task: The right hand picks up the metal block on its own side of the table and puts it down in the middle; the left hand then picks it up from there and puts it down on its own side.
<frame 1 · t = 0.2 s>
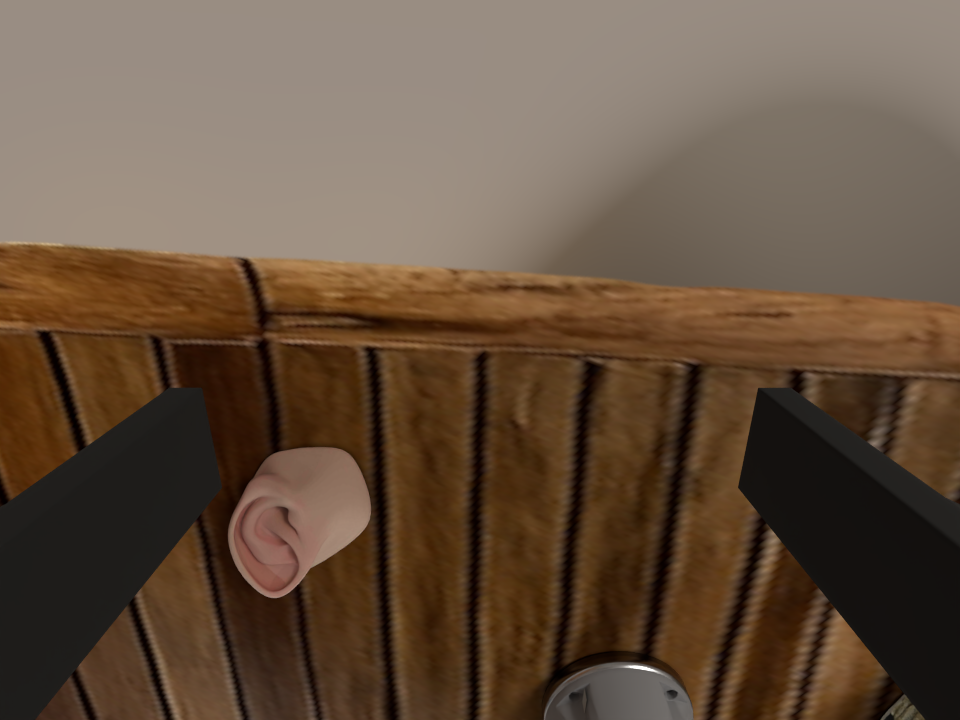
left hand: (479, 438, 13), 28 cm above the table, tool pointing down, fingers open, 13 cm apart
anatomical model: (305, 505, 46), on the table
fossil: (928, 701, 55), on the table
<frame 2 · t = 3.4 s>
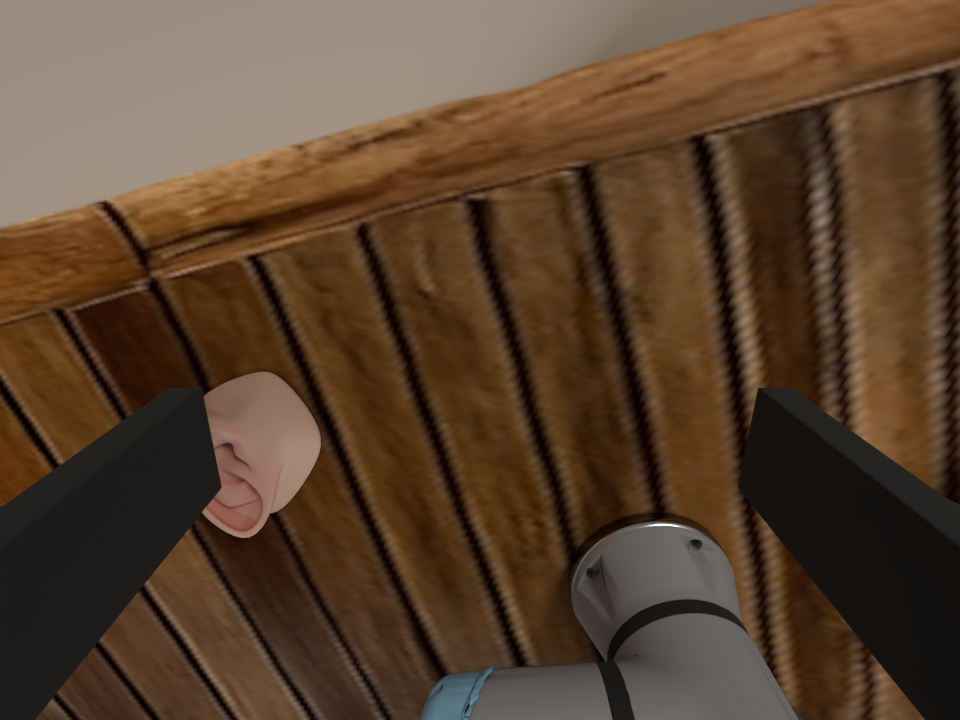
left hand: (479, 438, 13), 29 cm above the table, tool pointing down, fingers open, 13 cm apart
anatomical model: (256, 442, 46), on the table
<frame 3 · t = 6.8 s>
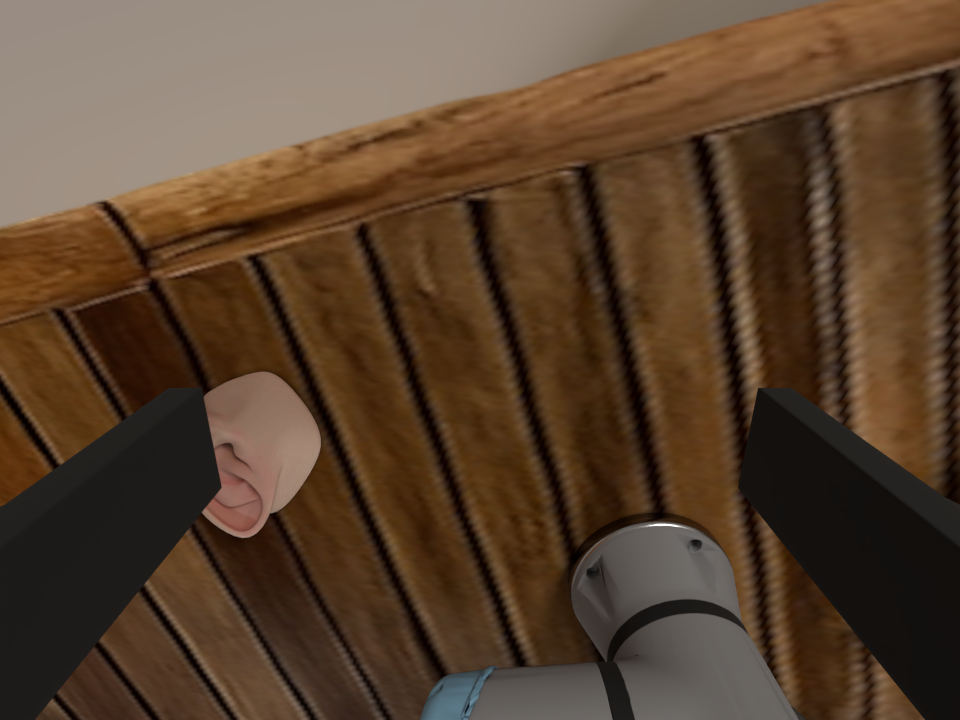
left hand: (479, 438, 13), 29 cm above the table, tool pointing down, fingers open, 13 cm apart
anatomical model: (256, 442, 46), on the table
when the right hand's fingers open (4 cm above the table, at t = 10.3 s): block drops 2 cm, on the table.
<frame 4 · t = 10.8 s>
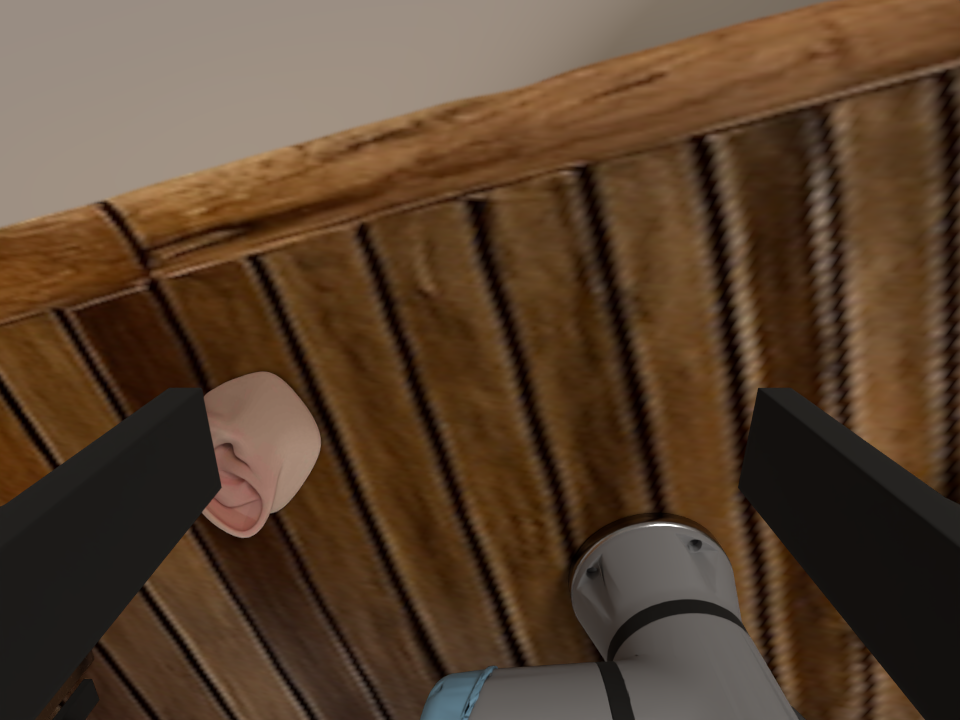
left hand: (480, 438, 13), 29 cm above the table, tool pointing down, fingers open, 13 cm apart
anatomical model: (256, 442, 46), on the table
block: (65, 640, 54), on the table
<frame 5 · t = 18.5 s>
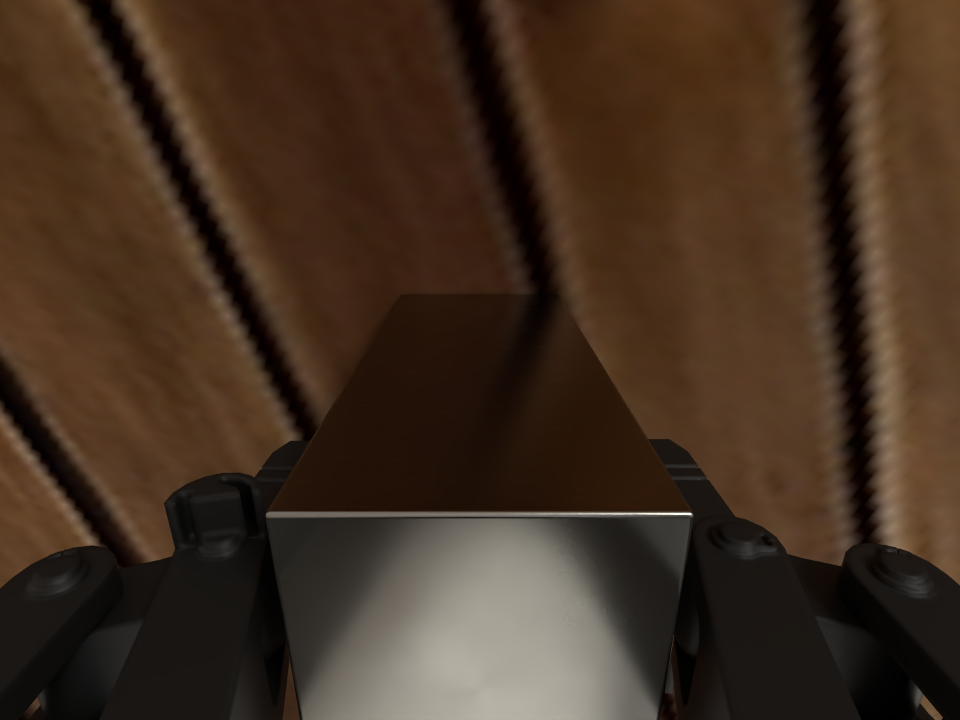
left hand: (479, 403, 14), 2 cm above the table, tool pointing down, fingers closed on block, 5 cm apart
block: (479, 376, 16), on the table, touching left hand
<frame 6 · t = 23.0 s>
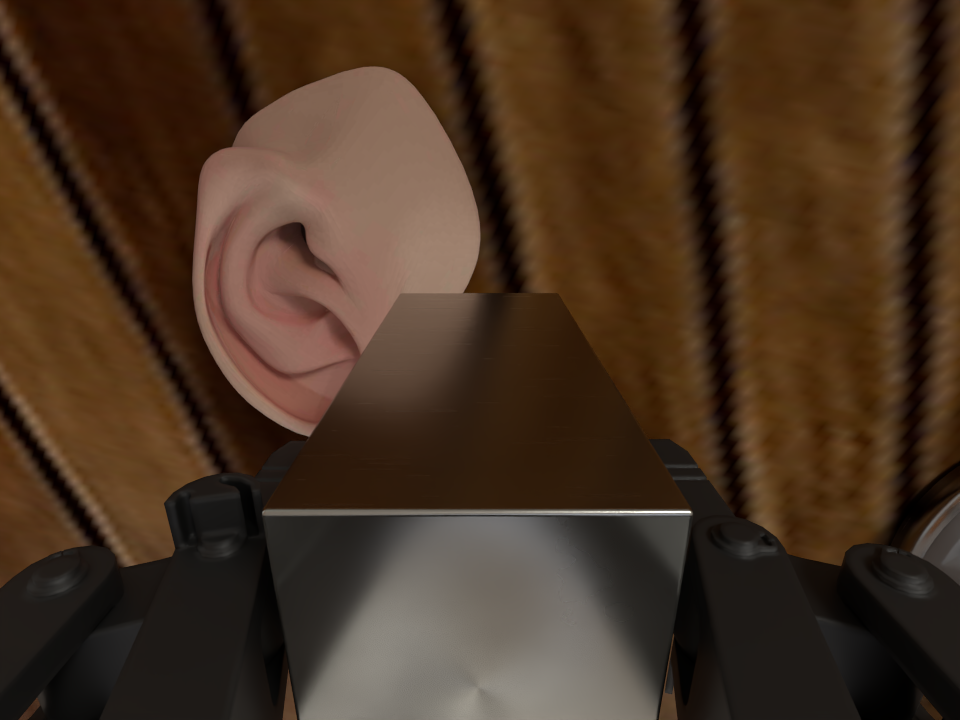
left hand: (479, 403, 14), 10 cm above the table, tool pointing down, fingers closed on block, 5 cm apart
anatomical model: (344, 247, 22), on the table
block: (479, 375, 16), point 8 cm above the table, touching left hand
when the left hand's fingers open (4 cm above the table, at t = 27.5 s): block drops 2 cm, on the table.
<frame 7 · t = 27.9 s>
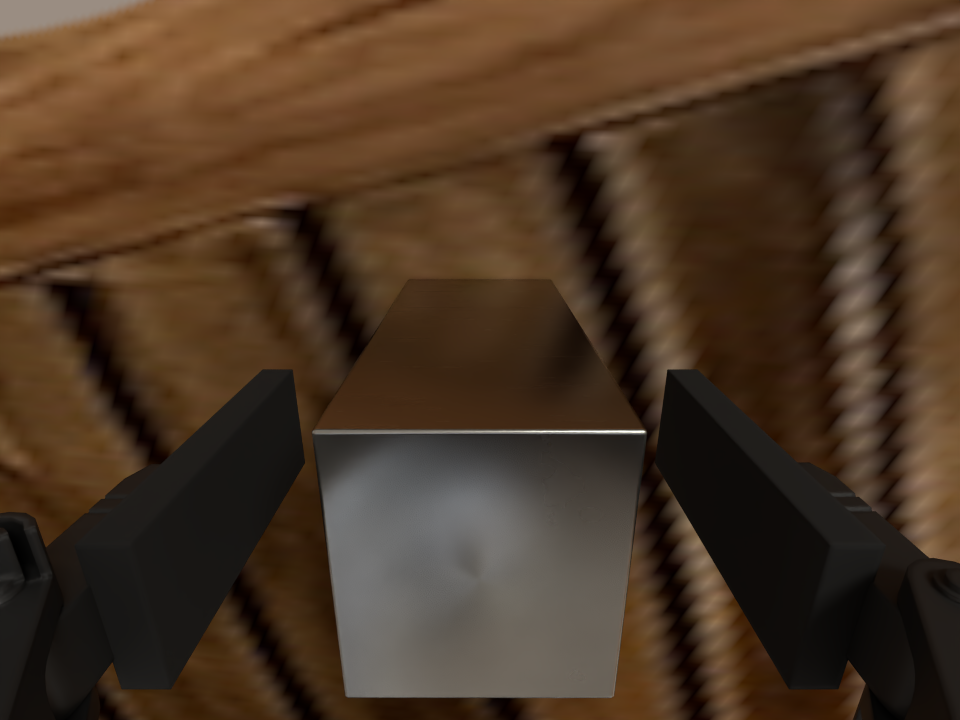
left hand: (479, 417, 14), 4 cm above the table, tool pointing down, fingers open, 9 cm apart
block: (479, 354, 18), on the table
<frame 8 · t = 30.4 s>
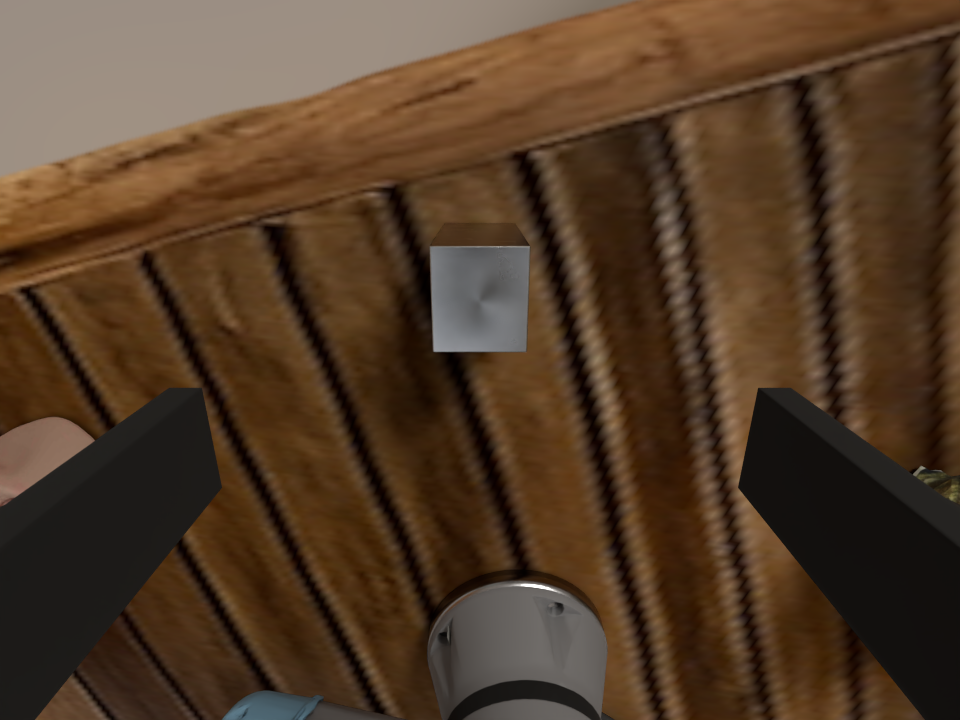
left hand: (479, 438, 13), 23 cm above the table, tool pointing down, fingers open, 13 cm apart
anatomical model: (60, 493, 41), on the table
fossil: (909, 541, 42), on the table
block: (479, 263, 35), on the table
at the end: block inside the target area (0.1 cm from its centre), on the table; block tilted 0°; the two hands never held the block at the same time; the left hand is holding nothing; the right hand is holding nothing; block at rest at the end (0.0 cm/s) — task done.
